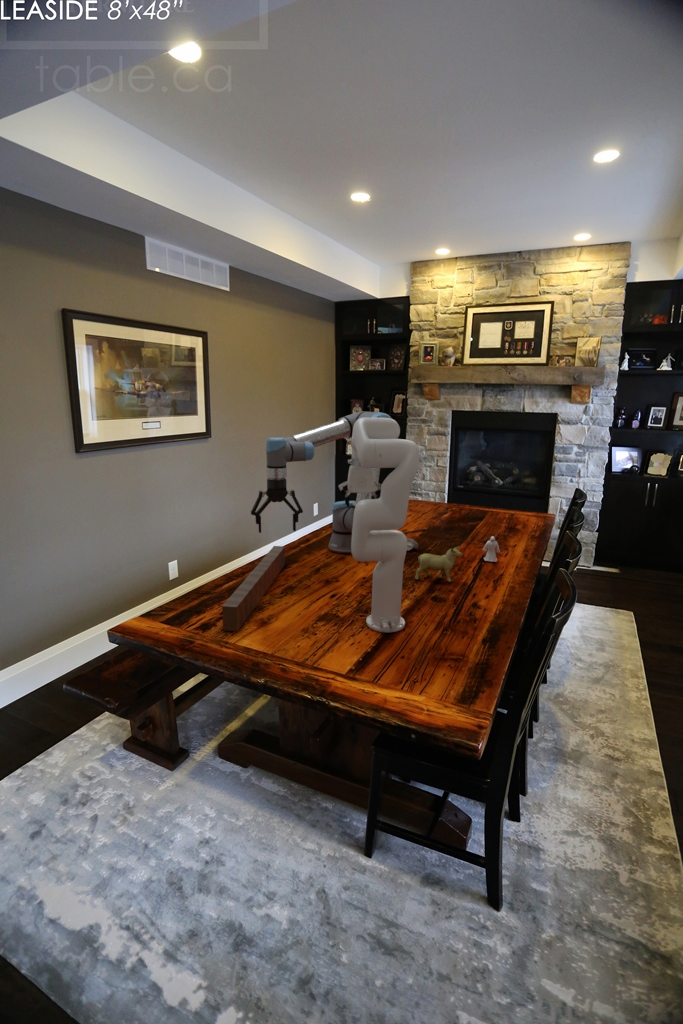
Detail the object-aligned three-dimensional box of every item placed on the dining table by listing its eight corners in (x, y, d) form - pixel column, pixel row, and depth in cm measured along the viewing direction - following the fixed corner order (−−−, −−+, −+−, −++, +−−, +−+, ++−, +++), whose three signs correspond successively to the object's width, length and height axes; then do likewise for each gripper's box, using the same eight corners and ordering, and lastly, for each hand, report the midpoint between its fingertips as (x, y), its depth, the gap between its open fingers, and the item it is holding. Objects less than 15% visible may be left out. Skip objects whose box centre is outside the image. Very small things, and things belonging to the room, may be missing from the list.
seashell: (406, 557, 238) (396, 544, 238) (411, 550, 242) (401, 537, 241) (417, 552, 232) (406, 539, 232) (422, 545, 236) (412, 532, 235)
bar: (237, 631, 156) (236, 607, 154) (223, 630, 156) (221, 605, 154) (285, 565, 215) (284, 546, 212) (274, 564, 215) (274, 545, 213)
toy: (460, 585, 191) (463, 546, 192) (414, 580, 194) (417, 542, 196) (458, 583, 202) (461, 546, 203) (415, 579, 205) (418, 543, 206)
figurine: (481, 562, 222) (483, 536, 219) (482, 556, 230) (484, 531, 227) (499, 564, 220) (501, 538, 217) (499, 558, 228) (501, 533, 225)
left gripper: (306, 475, 199) (306, 527, 205) (243, 477, 193) (244, 529, 199) (310, 479, 192) (309, 532, 197) (244, 480, 186) (245, 535, 191)
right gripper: (339, 464, 187) (338, 508, 191) (385, 464, 188) (383, 508, 192) (337, 461, 194) (337, 504, 198) (382, 461, 195) (380, 504, 199)
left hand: (277, 531), depth 198 cm, fingers open, 13 cm apart
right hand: (360, 506), depth 195 cm, fingers open, 9 cm apart
